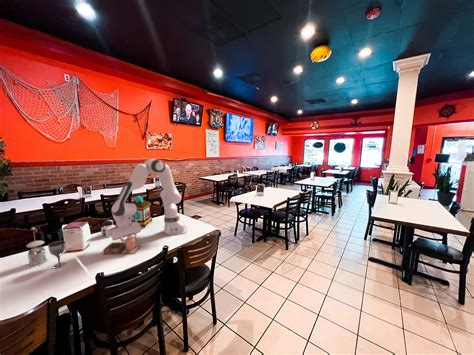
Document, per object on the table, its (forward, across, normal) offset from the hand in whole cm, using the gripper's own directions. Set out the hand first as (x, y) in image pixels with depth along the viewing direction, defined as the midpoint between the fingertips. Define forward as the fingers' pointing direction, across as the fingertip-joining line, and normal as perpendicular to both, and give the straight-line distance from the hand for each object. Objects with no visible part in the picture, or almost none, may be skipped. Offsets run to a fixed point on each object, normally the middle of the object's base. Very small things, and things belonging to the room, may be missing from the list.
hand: (130, 240), depth 141 cm
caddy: (+3, -4, +9) cm, 10 cm away
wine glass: (-7, -37, +19) cm, 42 cm away
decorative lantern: (-26, +28, +38) cm, 54 cm away
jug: (+4, 0, +5) cm, 7 cm away
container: (-24, 0, +36) cm, 44 cm away
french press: (-16, -45, +29) cm, 56 cm away
